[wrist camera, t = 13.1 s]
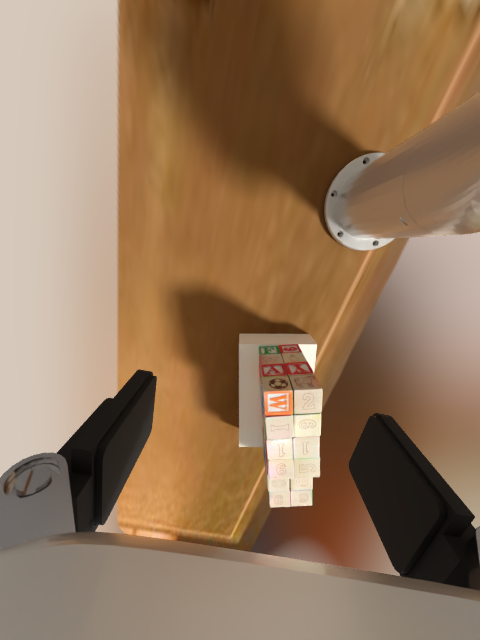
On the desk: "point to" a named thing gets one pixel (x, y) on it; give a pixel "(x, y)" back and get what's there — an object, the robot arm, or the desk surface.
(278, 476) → the stack of blocks
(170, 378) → the desk surface
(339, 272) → the desk surface
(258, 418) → the block
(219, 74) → the desk surface
